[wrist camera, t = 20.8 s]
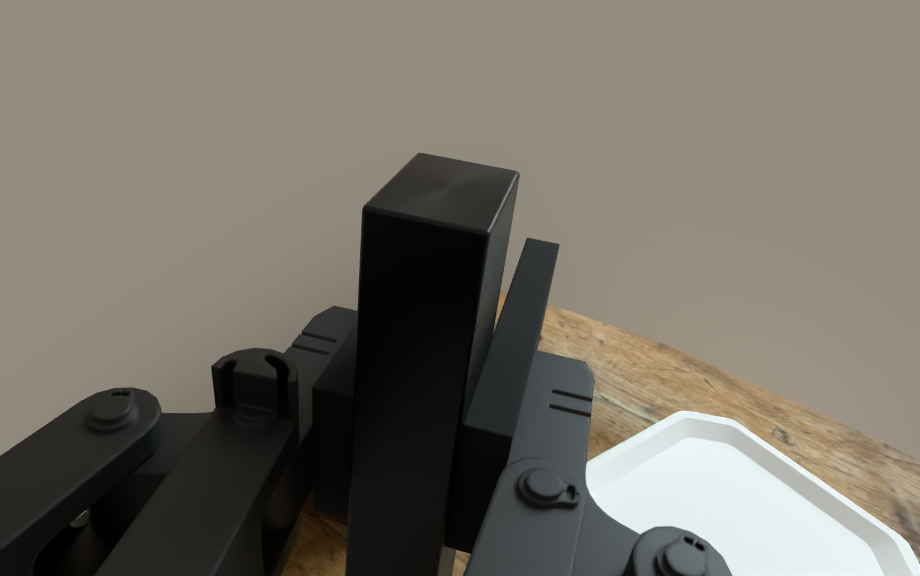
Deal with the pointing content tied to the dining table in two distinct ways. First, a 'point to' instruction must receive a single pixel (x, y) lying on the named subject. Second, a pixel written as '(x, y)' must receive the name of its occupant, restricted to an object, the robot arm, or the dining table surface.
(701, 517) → the plate
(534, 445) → the robot arm
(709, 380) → the dining table surface
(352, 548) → the knife
